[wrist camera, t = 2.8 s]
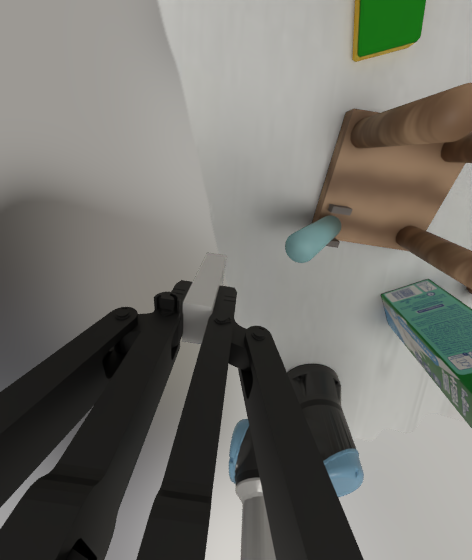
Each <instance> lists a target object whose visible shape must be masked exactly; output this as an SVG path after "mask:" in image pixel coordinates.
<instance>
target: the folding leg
mask: <svg viewBox="0 0 472 560" xmlns="http://www.w3.org/2000/svg"><path fill="white" fill-rule="evenodd" d="M340 230H341V222H340V220H339V219H338V218H337V217H335V216H331V215H330V216H325V217H323V218H321V219H320V220H318V221H316V222H314V223H312V224H310V225H308V226H306V227H304V228H302V229H301V230H299V231H297V232H295V233H293V234H291V235H290V236H289V237H288V239H287V241H286V244H285V249H286V253H287V255H288V256H289V257H290V258H291V259H292V260H293V261H295V262H299V263H304V262H308V261H310V260H311V259H312V258H313V257H314V256H315V255H316V254H317V253H318V252H320V251H321V250H322V249H323V248H324V247H325V246H326V245H327V244H328V243H329V242H330V241H331V240H332V239H333V238H334V237H336V236H337V235H338V234H339V232H340Z"/></svg>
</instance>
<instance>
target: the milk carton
mask: <svg viewBox="0 0 472 560" xmlns="http://www.w3.org/2000/svg"><path fill="white" fill-rule="evenodd" d="M381 296H382V300H383V304H384V308H385V313H386V317H387V321H388V324H389V326H390V327H391V328H392V329H393V331H394V332H395V333H396V334H397V336H398V337H399V338H400V339H401V341H402V342H403V343H404V344H405V346H406V347H407V348H408V349H409V351H410V352H411V353H412V354H413V356H414V357H415V358H416V359H417V361H418V362H419V363H420V364H421V366H422V367H423V368H424V369H425V371H426V372H427V373H428V374H429V376H430V377H431V378H432V379H433V381H434V382H435V383H436V384H437V386H438V387H439V388H440V389H441V391H442V392H443V393H444V394H445V396H446V397H447V398H448V399H449V401H450V402H451V403H452V404H453V406H454V407H455V408H456V409H457V411H458V412H459V413H460V414H461V416H462V417H463V418H464V419H465V421H466V422H467V423H468V424H469V426H470V427H471V428H472V309H471V308H469V307H468V306H466V305H465V304H464V303H462V302H461V301H459V300H458V299H457V298H455V297H454V296H452V295H451V294H449V293H448V292H447V291H445V290H444V289H442V288H441V287H439V286H438V285H437V284H435V283H434V282H432V281H431V280H429V279H427V280H424V281H421V282H418V283H415V284H412V285H409V286H406V287H402V288H399V289H396V290H393V291H390V292H387V293H384V294H381Z"/></svg>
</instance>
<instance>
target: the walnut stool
mask: <svg viewBox="0 0 472 560" xmlns="http://www.w3.org/2000/svg"><path fill="white" fill-rule="evenodd" d="M465 163H472V83H467V84H463V85H460V86H457V87H455V88H452V89H449V90H446V91H443V92H440V93H437V94H434V95H431V96H428V97H425V98H422V99H420V100H417V101H414V102H411V103H408V104H405V105H402V106H399V107H396V108H393V109H390V110H387V111H385V112H382V113H378V112H372V111H365V110H359V109H352V110H350V111H348V112H346V114H345V117H344V120H343V123H342V127H341V130H340V133H339V136H338V140H337V143H336V146H335V149H334V152H333V156H332V159H331V162H330V165H329V169H328V172H327V175H326V178H325V182H324V185H323V188H322V191H321V195H320V198H319V201H318V204H317V208H316V211H315V214H314V217H313V220H312V223H314V222H316V221H318V220H320V219H321V218H323V217H325V216H330V215H331V216H335V217H337V218H338V219H339V220H340V222H341V230H340V232H339V234H338V235H337V236H336V237H334V238H333V239H332V240H331V241H330V242H329V243H328V244H327V245H326V246H331V247H337V248H338V246H339V243H340V242H339V241H338V240H340V241H347V242H353V243H360V244H366V245H373V246H379V247H386V248H392V249H399V250H405V251H410V252H411V253H413V254H414V255H416V256H418V257H419V258H421V259H423V260H424V261H426V262H427V263H429V264H431V265H432V266H434V267H436V268H437V269H439V270H441V271H442V272H444V273H445V274H447V275H449V276H450V277H452V278H454V279H455V280H457V281H459V282H460V283H462V284H463V285H465V286H467V287H468V288H470V289H472V251H470V250H468V249H466V248H464V247H461V246H459V245H457V244H454V243H452V242H450V241H448V240H445V239H443V238H441V237H438V236H436V235H434V234H431V233H429V232H427V231H426V230H427V228H428V227H429V225H430V223H431V221H432V220H433V218H434V216H435V214H436V213H437V211H438V209H439V208H440V206H441V204H442V202H443V201H444V199H445V197H446V196H447V194H448V192H449V190H450V189H451V187H452V185H453V184H454V182H455V180H456V178H457V177H458V175H459V173H460V172H461V170H462V168H463V166H464V165H465Z"/></svg>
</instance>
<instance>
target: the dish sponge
mask: <svg viewBox="0 0 472 560" xmlns="http://www.w3.org/2000/svg"><path fill="white" fill-rule="evenodd" d="M425 3H426V0H355V15H354V38H353V60H354V61H355V62H357V61H361V60H364V59H368V58H372V57H375V56H379V55H383V54H386V53H390V52H394V51H397V50H401V49H405V48H408V47H409V46H411V45H412V44H414V43H415V42H416V41H417V40H418V39H419V38H420V37H421V30H422V23H423V17H424V10H425Z"/></svg>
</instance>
